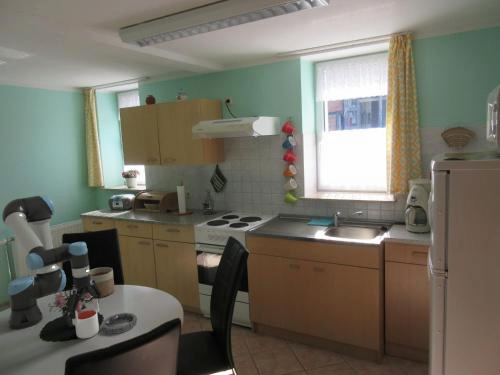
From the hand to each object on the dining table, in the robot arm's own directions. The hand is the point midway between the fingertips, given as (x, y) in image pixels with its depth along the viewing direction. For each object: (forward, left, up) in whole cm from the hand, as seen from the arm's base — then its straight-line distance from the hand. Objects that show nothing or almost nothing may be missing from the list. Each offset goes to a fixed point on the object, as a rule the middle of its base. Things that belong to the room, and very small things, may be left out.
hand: (86, 317), depth 178 cm
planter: (-28, +42, -9) cm, 52 cm away
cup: (0, 0, -9) cm, 9 cm away
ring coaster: (+10, +11, -9) cm, 17 cm away
